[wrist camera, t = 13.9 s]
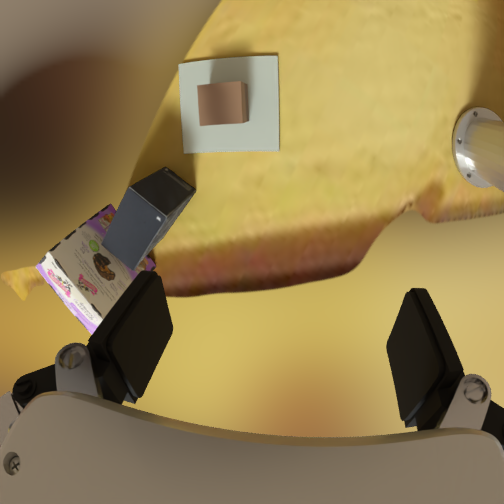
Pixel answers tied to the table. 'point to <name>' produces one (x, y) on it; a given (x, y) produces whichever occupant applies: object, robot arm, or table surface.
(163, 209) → the small box
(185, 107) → the mat
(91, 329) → the candy box
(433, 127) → the table surface
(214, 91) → the cube
